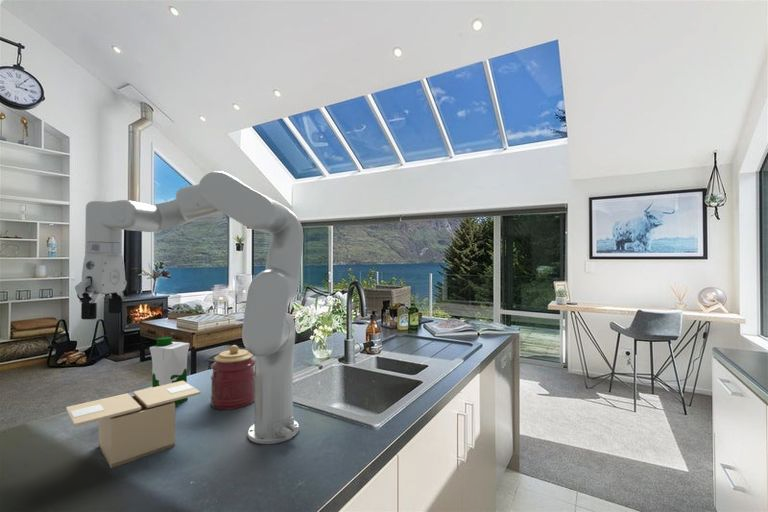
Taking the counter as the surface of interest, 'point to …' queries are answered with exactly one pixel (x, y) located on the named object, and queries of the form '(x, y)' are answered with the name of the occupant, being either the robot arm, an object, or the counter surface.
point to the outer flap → (102, 409)
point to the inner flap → (166, 393)
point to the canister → (233, 379)
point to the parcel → (137, 433)
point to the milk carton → (169, 363)
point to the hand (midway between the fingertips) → (102, 315)
